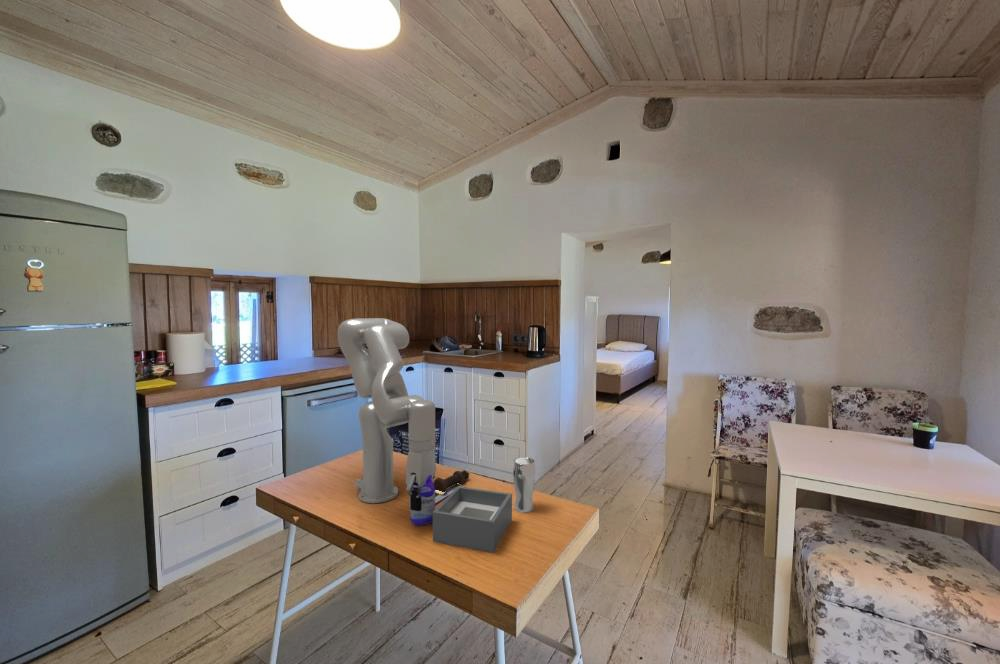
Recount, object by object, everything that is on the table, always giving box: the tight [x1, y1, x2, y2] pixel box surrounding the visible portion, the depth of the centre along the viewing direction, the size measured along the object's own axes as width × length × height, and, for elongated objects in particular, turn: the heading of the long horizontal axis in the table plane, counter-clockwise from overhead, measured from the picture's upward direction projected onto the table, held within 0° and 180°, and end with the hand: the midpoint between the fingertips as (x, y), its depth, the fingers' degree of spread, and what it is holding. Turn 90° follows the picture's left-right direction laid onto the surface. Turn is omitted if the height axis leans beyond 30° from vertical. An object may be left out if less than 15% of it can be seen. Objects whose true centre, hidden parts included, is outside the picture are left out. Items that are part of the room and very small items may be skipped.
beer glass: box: [512, 456, 537, 514], centre depth 129 cm, size 7×7×15 cm
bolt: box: [434, 470, 470, 492], centre depth 145 cm, size 6×5×15 cm
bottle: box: [409, 475, 436, 526], centre depth 121 cm, size 7×6×17 cm
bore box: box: [432, 485, 513, 554], centre depth 116 cm, size 17×17×8 cm
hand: (422, 503), depth 121 cm, fingers closed on bottle, 6 cm apart
